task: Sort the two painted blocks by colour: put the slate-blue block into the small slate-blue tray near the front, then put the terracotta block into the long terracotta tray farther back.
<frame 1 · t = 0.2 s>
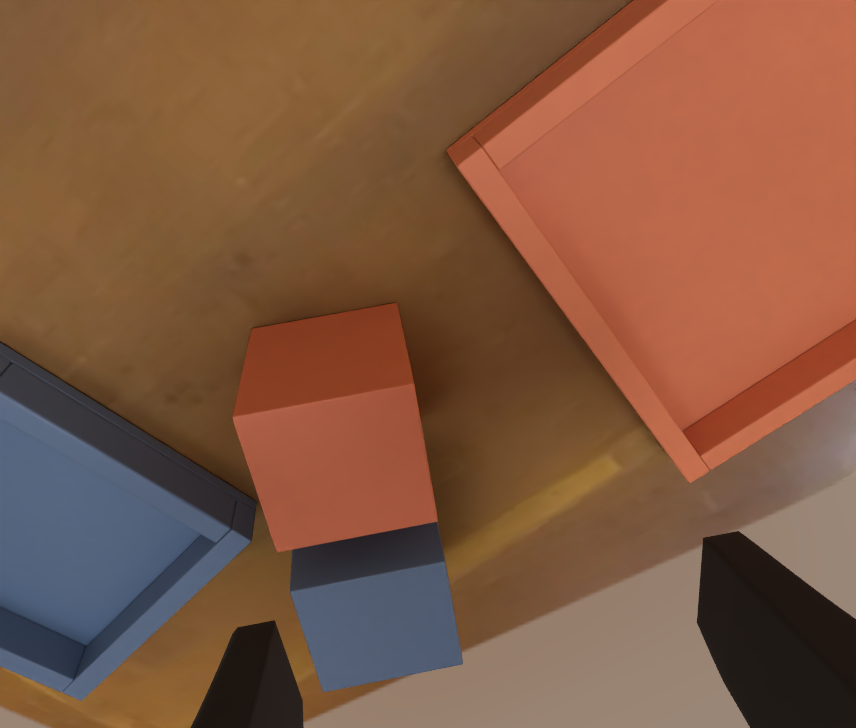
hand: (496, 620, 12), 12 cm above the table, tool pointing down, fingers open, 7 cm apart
slate block: (372, 519, 26), on the table
terracotta block: (339, 377, 23), on the table
slate tray: (52, 517, 24), on the table
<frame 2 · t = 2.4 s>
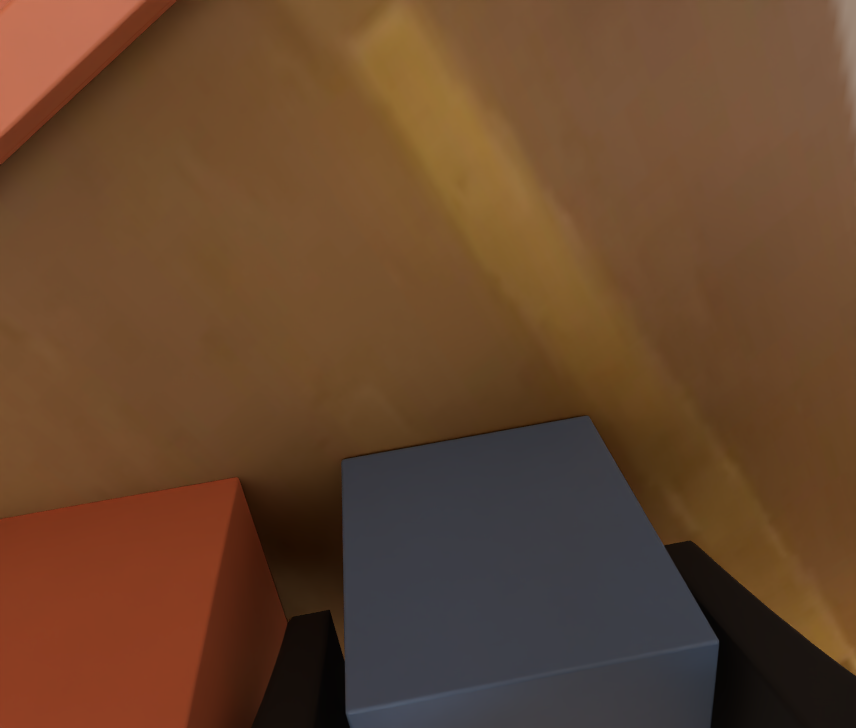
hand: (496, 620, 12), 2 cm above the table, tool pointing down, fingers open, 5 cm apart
slate block: (478, 530, 14), on the table
terracotta block: (153, 587, 14), on the table, touching gripper
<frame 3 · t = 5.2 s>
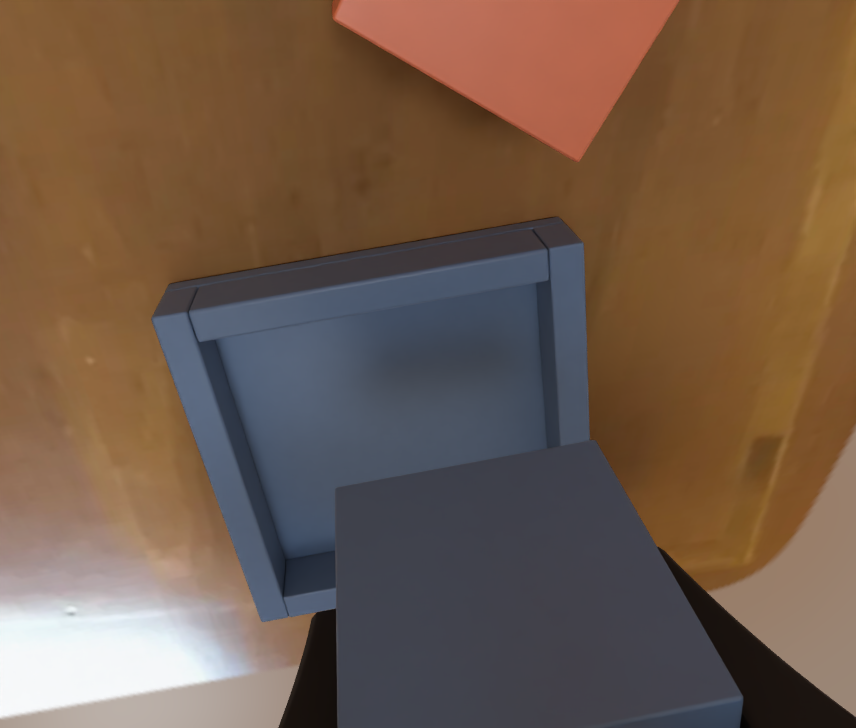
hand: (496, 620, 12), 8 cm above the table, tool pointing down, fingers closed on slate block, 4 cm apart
slate block: (479, 559, 13), point 7 cm above the table, touching gripper
slate tray: (396, 413, 20), on the table
when the fingers open (2 cm above the table, at t = 7.3 s): slate block stays where it is, resting on slate tray.
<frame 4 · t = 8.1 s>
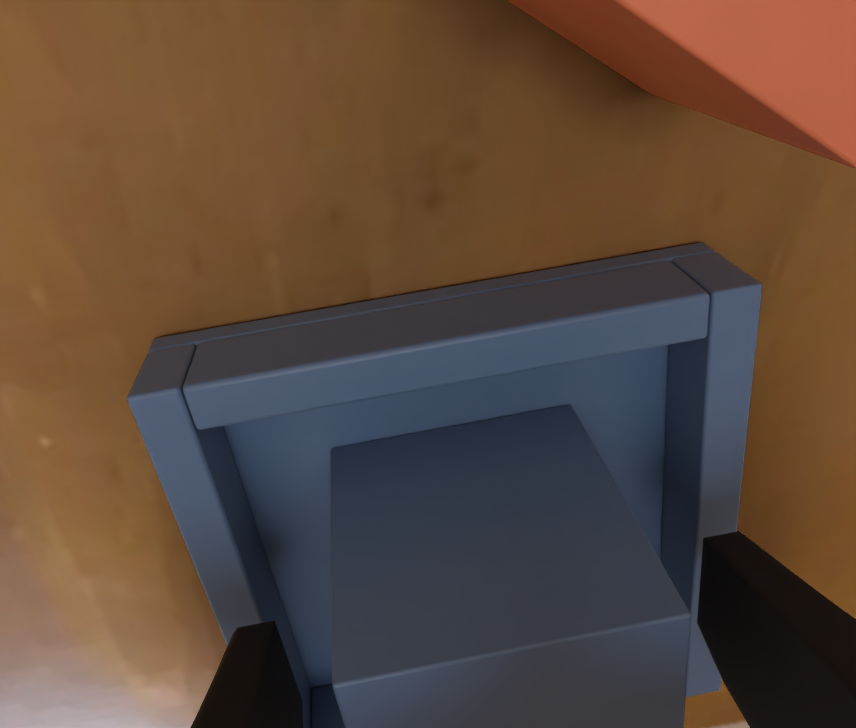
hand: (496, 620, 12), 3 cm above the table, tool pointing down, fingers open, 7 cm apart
slate block: (464, 518, 14), resting on slate tray
slate tray: (463, 502, 15), on the table
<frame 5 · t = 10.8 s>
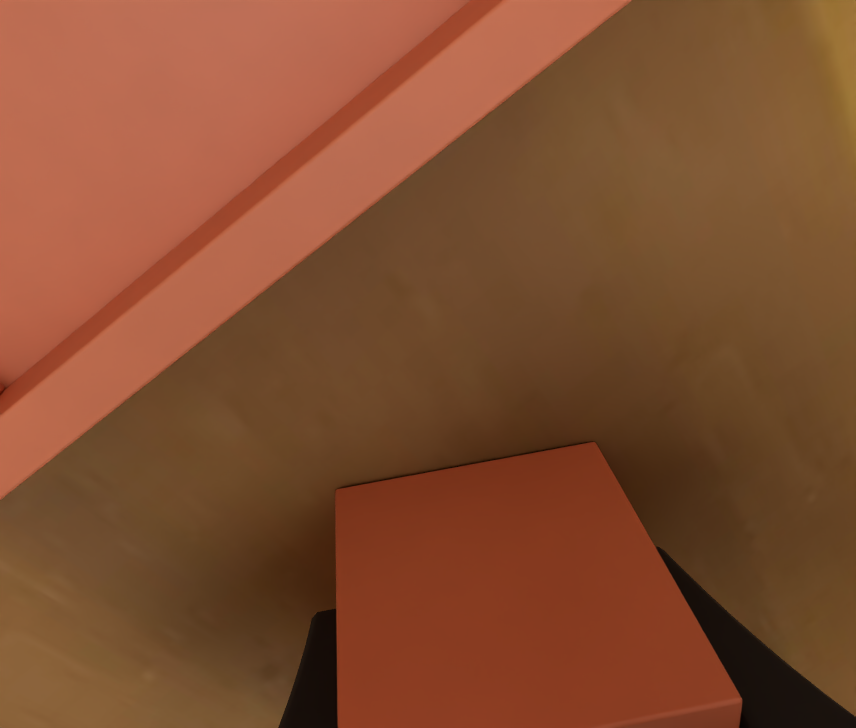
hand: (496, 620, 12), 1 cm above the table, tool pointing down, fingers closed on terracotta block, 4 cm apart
terracotta block: (479, 560, 13), on the table, touching gripper
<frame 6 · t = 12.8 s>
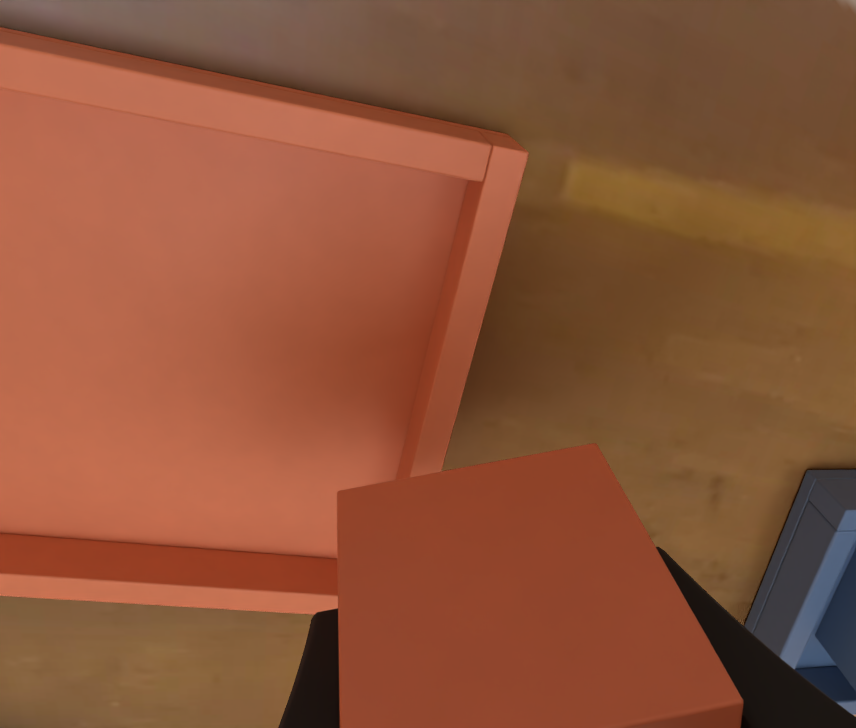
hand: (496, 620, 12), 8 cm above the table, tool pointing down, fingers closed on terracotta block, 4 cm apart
terracotta block: (480, 561, 13), point 7 cm above the table, touching gripper
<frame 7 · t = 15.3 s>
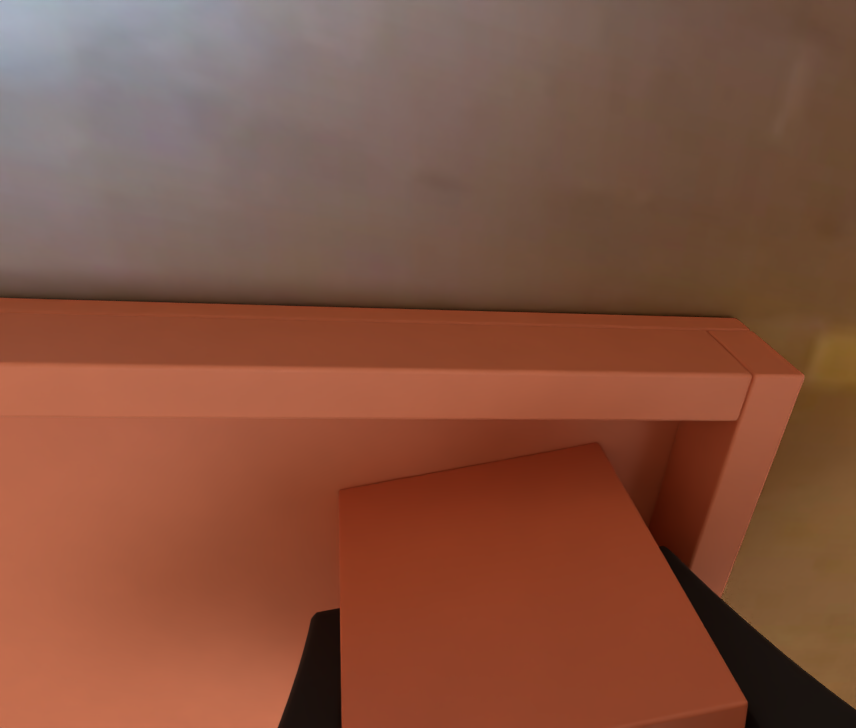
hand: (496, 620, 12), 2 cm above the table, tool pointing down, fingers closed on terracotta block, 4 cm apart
terracotta block: (482, 561, 13), resting on terracotta tray, touching gripper
when the fingers open (2 cm above the table, at t = 15.3 s): terracotta block stays where it is, resting on terracotta tray.
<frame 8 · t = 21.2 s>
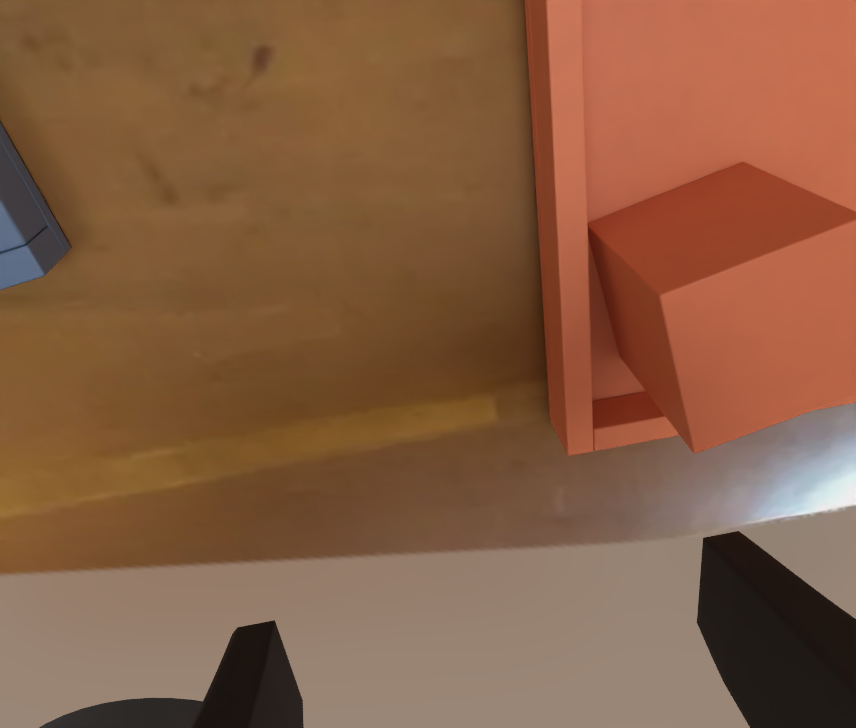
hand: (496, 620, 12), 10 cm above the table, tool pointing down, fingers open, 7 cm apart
terracotta block: (678, 265, 20), resting on terracotta tray
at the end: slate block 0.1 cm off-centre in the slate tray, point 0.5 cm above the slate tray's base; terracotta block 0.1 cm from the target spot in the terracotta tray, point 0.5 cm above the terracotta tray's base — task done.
